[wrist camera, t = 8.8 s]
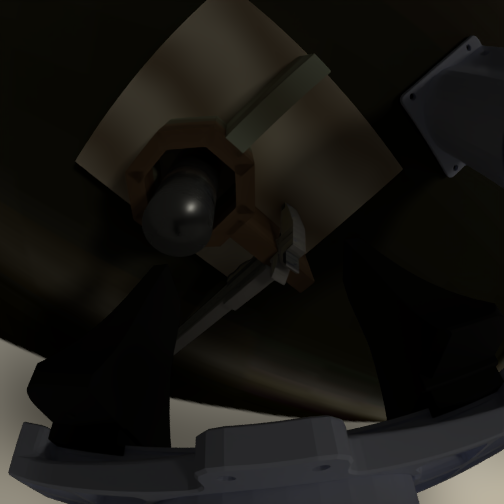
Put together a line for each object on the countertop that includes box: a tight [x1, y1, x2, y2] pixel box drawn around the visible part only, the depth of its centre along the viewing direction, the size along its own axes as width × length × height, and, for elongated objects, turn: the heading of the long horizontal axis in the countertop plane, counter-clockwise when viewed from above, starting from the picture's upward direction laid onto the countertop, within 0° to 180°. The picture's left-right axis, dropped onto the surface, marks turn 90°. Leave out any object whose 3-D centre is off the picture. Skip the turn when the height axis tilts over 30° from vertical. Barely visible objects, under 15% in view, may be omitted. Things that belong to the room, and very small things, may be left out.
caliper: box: [174, 202, 306, 355], centre depth 24 cm, size 20×1×6 cm, turn 143°
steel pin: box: [142, 147, 221, 257], centre depth 16 cm, size 3×3×8 cm
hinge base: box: [75, 0, 403, 294], centre depth 18 cm, size 15×17×5 cm
